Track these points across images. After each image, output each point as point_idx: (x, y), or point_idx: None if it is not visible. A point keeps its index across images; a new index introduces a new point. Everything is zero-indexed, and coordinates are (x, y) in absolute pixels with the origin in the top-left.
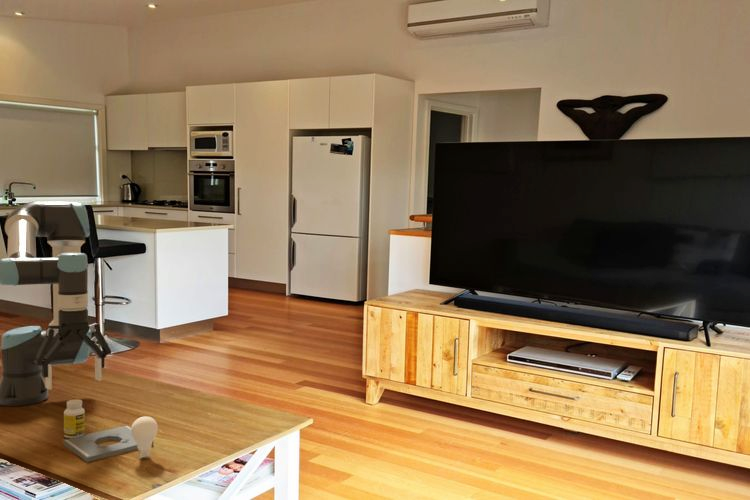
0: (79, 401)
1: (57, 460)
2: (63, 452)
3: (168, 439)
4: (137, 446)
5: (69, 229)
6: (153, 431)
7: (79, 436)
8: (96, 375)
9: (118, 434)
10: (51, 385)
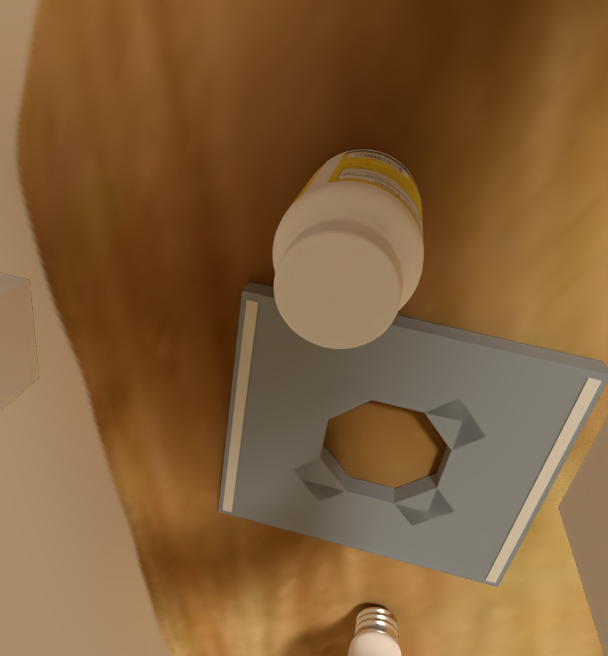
0: (362, 326)
1: (153, 408)
2: (206, 361)
3: None
4: (351, 647)
5: None
6: None
7: None
8: (605, 495)
9: (469, 436)
10: (7, 401)
